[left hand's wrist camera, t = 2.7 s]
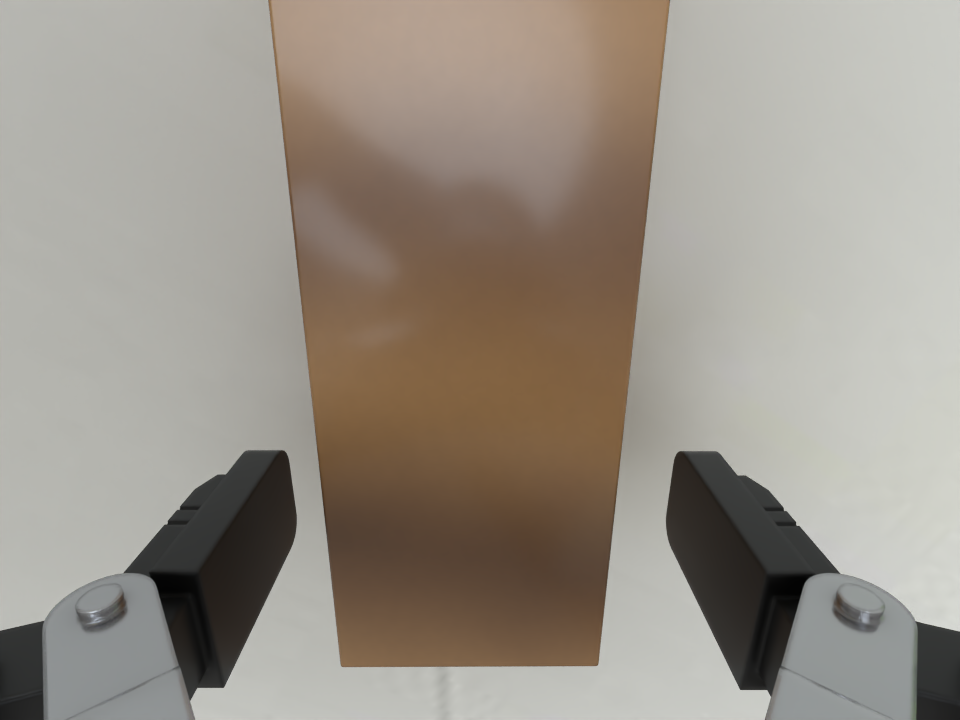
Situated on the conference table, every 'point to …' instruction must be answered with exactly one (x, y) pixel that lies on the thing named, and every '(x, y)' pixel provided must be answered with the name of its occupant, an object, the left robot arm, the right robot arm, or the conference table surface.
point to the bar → (469, 308)
